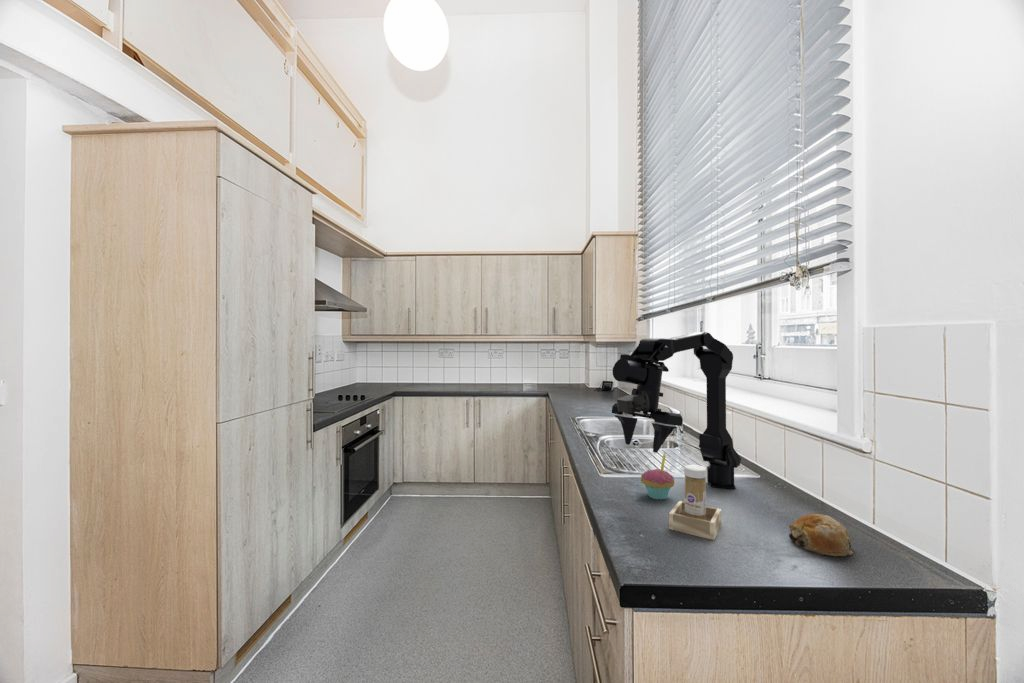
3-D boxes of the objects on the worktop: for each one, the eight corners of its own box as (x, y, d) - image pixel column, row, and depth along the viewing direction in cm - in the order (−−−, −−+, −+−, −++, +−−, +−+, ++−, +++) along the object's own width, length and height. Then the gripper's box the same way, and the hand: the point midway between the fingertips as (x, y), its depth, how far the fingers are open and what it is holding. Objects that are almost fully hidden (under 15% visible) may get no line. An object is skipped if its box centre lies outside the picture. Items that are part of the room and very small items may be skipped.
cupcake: (669, 491, 117) (669, 448, 117) (678, 503, 109) (678, 456, 109) (638, 490, 118) (637, 447, 118) (644, 502, 110) (644, 455, 110)
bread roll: (843, 580, 80) (866, 546, 78) (784, 544, 85) (805, 512, 83) (837, 557, 88) (857, 526, 87) (784, 526, 93) (802, 496, 91)
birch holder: (679, 515, 101) (679, 500, 101) (721, 524, 96) (721, 509, 96) (669, 529, 94) (669, 513, 94) (714, 540, 89) (713, 523, 89)
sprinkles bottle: (682, 528, 94) (681, 467, 94) (687, 520, 98) (686, 462, 98) (704, 533, 92) (704, 471, 92) (708, 525, 95) (708, 466, 95)
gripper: (600, 379, 113) (592, 438, 111) (655, 386, 96) (646, 455, 95) (630, 385, 118) (623, 441, 117) (687, 391, 102) (679, 457, 100)
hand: (640, 448), depth 107 cm, fingers open, 9 cm apart
